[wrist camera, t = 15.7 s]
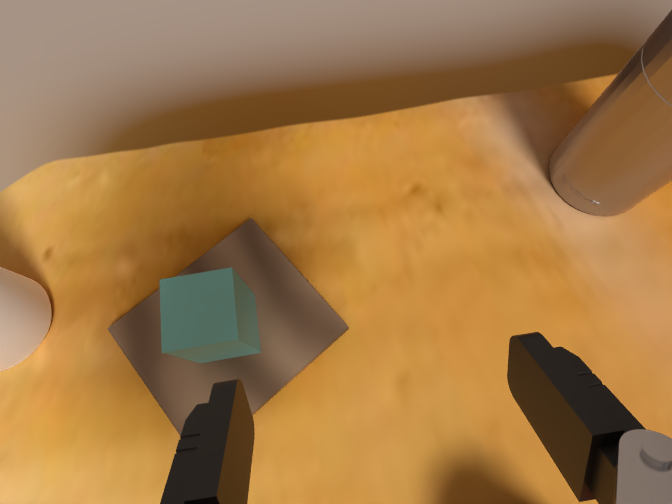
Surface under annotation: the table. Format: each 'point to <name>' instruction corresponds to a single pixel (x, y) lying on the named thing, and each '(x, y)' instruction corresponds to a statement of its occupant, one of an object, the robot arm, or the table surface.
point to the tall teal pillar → (208, 316)
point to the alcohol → (21, 317)
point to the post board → (273, 324)
